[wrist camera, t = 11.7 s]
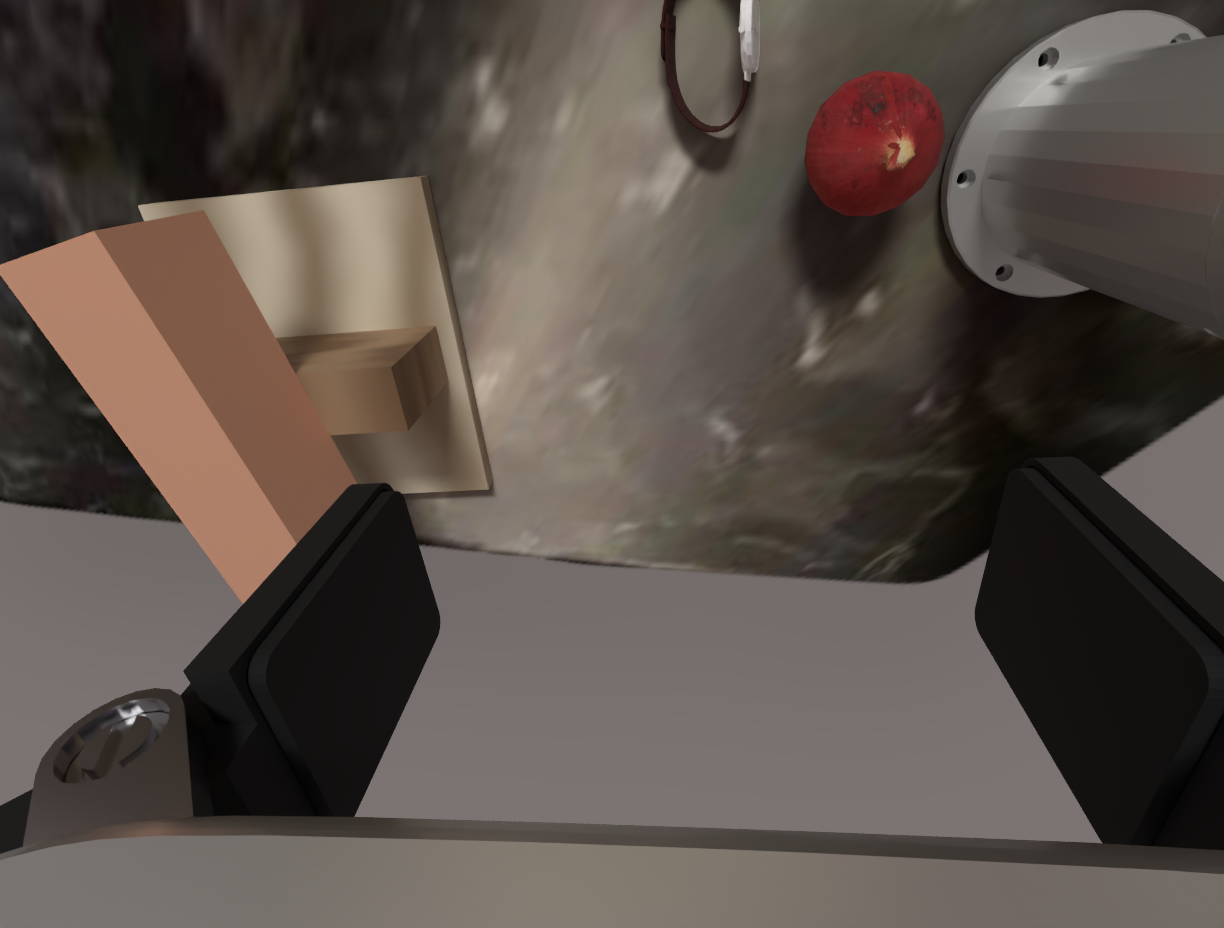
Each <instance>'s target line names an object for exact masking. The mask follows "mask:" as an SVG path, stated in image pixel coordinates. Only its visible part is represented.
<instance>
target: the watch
mask: <svg viewBox="0 0 1224 928" xmlns="http://www.w3.org/2000/svg"><path fill="white" fill-rule="evenodd" d="M674 4H675V0H664V5H663V11H662V21H661V24H660V28H661V56H662V59H663V60H664V61H666V72H667V78H668V83H669V87H670V90H671V93H672V96H673V99H674V101H675V103H676V105H677V107H678V108H679V110H680V112H681V113H682V115H683V116H684V117H685V118H686V120H687V121H688V122H689V123H690V124H692V125H693V126H694V127H696V128H697V129H699V130H702V131H705V132H718V131H721V130H723V129H725V128H727V127H728V126H729V125H731V124H732V123H733V122H734V121H735V120H736V118H737V117H738V116H739V114H740V113H741V111H742V109H743V107H744V104H745V101H746V99H747V95H748V90H749V83H750V82H751V73H753V72H756V71H757V69H758V62H759V49H760V17H759V2H758V0H741V5H740V20H739V28H738V30H739V32H740V47H741V62H742V69H743V72H744V82H743V93H742V98H741V101H740V104H739V107H738V109H737V111H736V113H735V115H734V116H733V117H732V119H731V120H730V121H729V122H728V123H726V124H724V125H722V126H709V125H706V124H704V123H702V122H701V121H699V120H698V119H697V118H696V117H695V116H694V115H693V114H692V113H691V112H690V110H689V109H688V107H687V106H686V104H685V102H684V100H683V97H682V95H681V92H680V89H679V85H678V81H677V74H676V64H675V29H676V26H675V23H676V17H675V16H673V10H674Z"/></svg>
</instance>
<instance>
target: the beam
mask: <svg viewBox="0 0 1224 928" xmlns="http://www.w3.org/2000/svg"><path fill="white" fill-rule="evenodd" d="M0 275H1V276H2V278H3V279H4V280H5V282H6V283H7V285H8V286H9V287H10V289H11V290H12V291H13V293H14V294H15V295H16V297H17V298H18V299H19V301H20V302H21V303H22V305H23V306H24V308H25V309H26V310H27V312H28V313H29V314H30V316H31V317H32V318H33V320H34V321H35V322H36V324H37V325H38V327H39V328H40V329H41V331H42V332H43V333H44V335H45V336H46V337H47V339H48V340H49V341H50V343H51V344H52V346H53V347H54V348H55V350H56V351H57V352H58V354H59V355H60V356H61V358H62V359H63V360H64V362H65V363H66V365H67V366H68V367H69V369H70V370H71V371H72V373H73V374H74V375H75V377H76V378H77V379H78V381H79V382H80V384H81V385H82V386H83V388H84V389H85V390H86V392H87V393H88V394H89V396H90V397H91V398H92V400H93V401H94V403H95V404H96V405H97V407H98V408H99V409H100V411H101V412H102V413H103V415H104V416H105V417H106V419H107V420H108V421H109V423H110V424H111V426H112V427H113V428H114V430H115V431H116V432H117V434H118V435H119V436H120V438H121V439H122V440H123V442H124V443H125V445H126V446H127V447H128V449H129V450H130V451H131V453H132V454H133V455H134V457H135V458H136V459H137V461H138V462H139V464H140V465H141V466H142V468H143V469H144V470H145V472H146V473H147V474H148V476H149V477H150V478H151V480H152V481H153V483H154V484H155V485H156V487H157V488H158V489H159V491H160V492H161V493H162V495H163V496H164V497H165V499H166V500H167V502H168V503H169V504H170V506H171V507H172V508H173V510H174V511H175V512H176V514H177V515H178V516H179V518H180V519H181V521H182V522H183V523H184V525H185V526H186V527H187V529H188V530H189V531H190V533H191V534H192V535H193V537H194V538H195V539H196V541H197V542H198V544H199V545H200V546H201V548H202V549H203V550H204V552H205V553H206V554H207V556H208V557H209V558H210V560H211V561H212V562H213V564H214V565H215V567H216V568H217V569H218V571H219V572H220V573H221V575H222V576H223V577H224V579H225V580H226V581H227V583H228V584H229V586H230V587H231V588H232V590H233V591H234V592H235V594H236V595H237V596H238V598H239V599H240V601H241V602H242V603H243V604H244V603H245V601H246V600H247V599H248V598H249V597H250V596H251V595H252V594H253V593H254V591H255V590H256V589H257V588H258V587H259V586H260V585H261V584H262V582H263V581H264V580H265V579H266V578H267V577H268V576H269V575H270V574H271V572H272V571H273V570H274V569H275V568H276V567H277V566H278V565H279V563H280V562H281V561H282V560H283V559H284V558H285V557H286V556H287V555H288V553H289V552H290V551H291V550H292V549H293V548H294V547H295V546H296V544H297V543H298V542H299V541H300V540H301V539H302V538H303V537H304V536H305V534H306V533H307V532H308V531H309V530H310V529H311V528H312V527H313V525H314V524H315V523H316V522H317V521H318V520H319V519H320V518H321V517H322V515H323V514H324V513H325V512H326V511H327V510H328V509H329V508H330V506H331V505H332V504H333V503H334V502H335V501H336V500H337V499H338V497H339V496H340V495H341V494H342V493H343V492H344V491H345V490H346V489H347V487H349V486H350V485H352V484H357V483H356V481H355V479H354V477H353V475H352V474H351V472H350V470H349V468H348V466H347V465H346V463H345V461H344V459H343V458H342V456H341V454H340V452H339V450H338V449H337V447H336V445H335V443H334V441H333V440H332V438H331V436H330V434H329V433H328V431H327V429H326V427H325V425H324V424H323V422H322V420H321V418H320V416H319V415H318V413H317V411H316V409H315V408H314V406H313V404H312V402H311V400H310V399H309V397H308V395H307V393H306V392H305V390H304V388H303V386H302V384H301V383H300V381H299V379H298V377H297V375H296V374H295V372H294V370H293V368H292V367H291V365H290V363H289V361H288V359H287V358H286V356H285V354H284V352H283V350H282V349H281V347H280V345H279V343H278V342H277V340H276V338H275V336H274V334H273V333H272V331H271V329H270V327H269V325H268V324H267V322H266V320H265V318H264V317H263V315H262V313H261V311H260V309H259V308H258V306H257V304H256V302H255V300H254V299H253V297H252V295H251V293H250V292H249V290H248V288H247V286H246V284H245V283H244V281H243V279H242V277H241V276H240V274H239V272H238V270H237V268H236V267H235V265H234V263H233V261H232V259H231V258H230V256H229V254H228V252H227V251H226V249H225V247H224V245H223V243H222V242H221V240H220V238H219V236H218V234H217V233H216V231H215V229H214V227H213V226H212V224H211V222H210V220H209V218H208V217H207V215H206V213H205V211H204V210H201V211H196V212H191V213H186V214H180V215H175V216H170V217H165V218H159V219H154V220H149V221H144V222H138V223H133V224H128V225H123V226H118V227H112V228H107V229H102V230H97V231H93V232H90V233H87V234H84V235H82V236H79V237H76V238H73V239H70V240H68V241H65V242H62V243H59V244H57V245H54V246H51V247H48V248H46V249H43V250H40V251H37V252H35V253H32V254H29V255H26V256H24V257H21V258H18V259H15V260H13V261H10V262H7V263H4V264H2V265H0Z"/></svg>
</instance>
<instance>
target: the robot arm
mask: <svg viewBox="0 0 1224 928" xmlns="http://www.w3.org/2000/svg"><path fill="white" fill-rule="evenodd" d="M1040 55H1042V56H1043V61H1042V64H1041V65H1040V66H1038V59H1039V57H1040ZM960 173H962V174H963V179H962V181H961V182H960V183H957V178H958V176H959V174H960ZM941 213H942V218H943V224H944V229H945V233H946V235H947V238H948V240H949V242H950V245H951V247H952V249H953V251H954V253H955V254H956V256H957V257H958V258H959V259H960V261H961V262H962V263H963V265H964V266H965V267H966V268H967V269H968V270H969V271H970V272H972V273H973V274H974V275H975V276H977V277H978V278H979V279H980V280H982V281H984V282H986V283H988V284H990V285H991V286H993V287H995V288H997V289H1000V290H1003V291H1006V292H1009V293H1012V294H1015V295H1020V296H1028V297H1037V298H1044V297H1058V296H1066V295H1070V294H1074V293H1078V292H1082V291H1086V290H1089V289H1092V290H1095V291H1097V292H1100V293H1103V294H1105V295H1108V296H1110V297H1113V298H1116V299H1118V300H1121V301H1124V302H1126V303H1129V304H1132V305H1134V306H1137V307H1139V308H1142V309H1145V310H1147V311H1150V312H1153V313H1155V314H1158V315H1161V316H1163V317H1166V318H1169V319H1171V320H1174V321H1176V322H1179V323H1182V324H1184V325H1187V326H1190V327H1192V328H1195V329H1198V330H1200V331H1203V332H1205V333H1208V334H1211V335H1213V336H1216V337H1219V338H1221V339H1224V35H1221V36H1214V37H1208V38H1206V37H1205V35H1204V34H1203V33H1202V32H1201V31H1200V30H1199V29H1198V28H1196V27H1194V26H1192V25H1190V24H1189V23H1187V22H1185V21H1183V20H1181V19H1180V18H1178V17H1176V16H1172V15H1168V14H1163V13H1159V12H1155V11H1151V10H1138V11H1118V12H1113V13H1108V14H1103V15H1098V16H1094V17H1091V18H1088V19H1085V20H1081V21H1078V22H1075V23H1072V24H1069V25H1066V26H1064V27H1062V28H1061V29H1059V30H1057V31H1055V32H1053V33H1051V34H1049V35H1047V36H1045V37H1043V38H1041V39H1039V40H1038V41H1037V42H1035V43H1034V44H1032V45H1031V46H1030V47H1028V48H1027V49H1026V50H1024V51H1023V52H1022V53H1020V54H1019V55H1017V56H1016V57H1015V58H1013V59H1012V60H1011V61H1010V62H1009V63H1008V64H1007V65H1006V66H1005V67H1004V68H1003V69H1002V70H1001V71H1000V72H999V73H998V74H997V75H996V76H995V77H994V78H993V79H992V80H991V81H990V82H989V83H988V85H987V86H986V87H985V89H984V90H983V91H982V93H981V94H980V95H979V97H978V98H977V99H976V100H975V102H974V103H973V104H972V106H971V107H970V109H969V111H968V113H967V114H966V116H965V118H964V120H963V122H962V123H961V125H960V127H959V129H958V131H957V132H956V135H955V138H954V140H953V143H952V146H951V148H950V151H949V154H948V156H947V159H946V164H945V169H944V174H943V179H942V184H941ZM999 267H1001V269H1000V271H999V272H998V273H996V271H997V269H998V268H999ZM995 273H996V274H995ZM975 622H976V626H977V629H978V632H979V634H980V636H981V638H982V639H983V641H984V643H985V644H986V646H987V648H988V649H989V651H990V653H991V655H992V656H993V658H994V660H995V661H996V663H997V665H998V666H999V668H1000V670H1001V672H1002V673H1003V675H1004V677H1005V678H1006V680H1007V682H1008V683H1009V685H1010V687H1011V689H1012V690H1013V692H1014V694H1015V695H1016V697H1017V699H1018V701H1019V702H1020V704H1021V706H1022V707H1023V709H1024V711H1025V712H1026V714H1027V716H1028V718H1029V719H1030V721H1031V723H1032V724H1033V726H1034V728H1035V729H1036V731H1037V733H1038V735H1039V736H1040V738H1041V740H1042V741H1043V743H1044V745H1045V747H1046V748H1047V750H1048V751H1049V753H1050V755H1051V757H1052V758H1053V760H1054V762H1055V763H1056V765H1057V767H1058V769H1059V770H1060V772H1061V774H1062V775H1063V777H1064V779H1065V780H1066V782H1067V784H1068V786H1069V787H1070V789H1071V791H1072V793H1073V794H1074V796H1075V798H1076V799H1077V801H1078V803H1079V804H1080V806H1081V808H1082V810H1083V811H1084V813H1085V814H1086V816H1087V818H1088V820H1089V822H1090V823H1091V825H1092V827H1093V828H1094V830H1095V832H1096V833H1097V835H1098V837H1099V838H1100V840H1101V841H1102V843H1103V844H1102V843H1083V842H1059V841H1034V840H1033V841H1031V840H1008V839H984V838H983V839H982V838H959V837H933V836H909V835H884V834H858V833H834V832H806V831H777V830H749V829H721V828H693V827H692V828H691V827H663V826H635V825H606V824H576V823H545V822H544V823H543V822H510V821H474V820H439V819H407V818H406V819H405V818H373V817H354V816H355V814H356V812H357V810H358V807H359V805H360V803H361V801H362V799H363V797H364V795H365V792H366V790H367V788H368V786H369V784H370V781H371V779H372V777H373V775H374V773H375V771H376V769H377V766H378V764H379V762H380V760H381V758H382V756H383V753H384V751H385V749H386V747H387V745H388V743H389V740H390V738H391V736H392V734H393V732H394V730H395V728H396V725H397V723H398V721H399V719H400V717H401V714H402V712H403V710H404V708H405V706H406V703H407V702H408V699H409V697H410V695H411V693H412V691H413V689H414V686H415V684H416V682H417V680H418V678H419V676H420V673H421V671H422V669H423V666H424V664H425V663H426V661H427V658H428V656H429V654H430V652H431V650H432V648H433V645H434V643H435V641H436V639H437V637H438V634H439V629H440V615H439V610H438V608H437V604H436V601H435V597H434V594H433V591H432V588H431V584H430V581H429V578H428V574H427V571H426V568H425V565H424V561H423V558H422V555H421V551H420V548H419V545H418V541H417V538H416V535H415V532H414V528H413V525H412V522H411V518H410V515H409V512H408V509H407V505H406V502H405V499H404V497H403V495H402V494H401V492H399V491H394V490H393V488H392V487H391V486H390V485H389V484H387V483H368V484H352V485H350V486H349V487H347V489H346V490H345V491H344V492H343V493H342V494H341V495H340V496H339V497H338V499H337V500H336V501H335V502H334V503H333V504H332V505H331V506H330V508H329V509H328V510H327V511H326V512H325V513H324V514H323V515H322V517H321V518H320V519H319V520H318V521H317V522H316V523H315V524H314V525H313V527H312V528H311V529H310V530H309V531H308V532H307V533H306V534H305V536H304V537H303V538H302V539H301V540H300V541H299V542H298V543H297V544H296V546H295V547H294V548H293V549H292V550H291V551H290V552H289V553H288V555H287V556H286V557H285V558H284V559H283V560H282V561H281V562H280V563H279V565H278V566H277V567H276V568H275V569H274V570H273V571H272V572H271V574H270V575H269V576H268V577H267V578H266V579H265V580H264V581H263V582H262V584H261V585H260V586H259V587H258V588H257V589H256V590H255V591H254V593H253V594H252V595H251V596H250V597H249V598H248V599H247V600H246V601H245V603H244V604H243V605H242V606H241V607H240V608H239V609H238V611H237V612H236V613H235V614H234V615H233V616H232V617H231V618H230V619H229V620H228V622H227V623H226V624H225V625H224V626H223V627H222V628H221V629H220V631H219V632H218V633H217V634H216V635H215V636H214V637H213V638H212V640H211V641H210V642H209V643H208V644H207V645H206V646H205V647H204V649H203V650H202V651H201V652H200V653H199V654H198V655H197V656H196V658H195V659H194V660H193V661H192V662H191V663H190V664H189V665H188V666H187V668H186V669H185V670H184V673H185V675H186V676H187V678H188V680H189V681H190V683H191V684H190V685H189V686H188V687H187V689H186V690H185V691H184V692H183V693H182V694H181V695H179V694H177V693H176V692H173V691H172V690H170V689H160V688H153V689H147V690H141V691H136V692H133V693H130V694H127V695H124V696H122V697H119V698H116V699H114V700H112V701H110V702H108V703H106V704H104V705H102V706H100V707H99V708H97V709H95V710H93V711H92V712H90V713H89V714H87V715H86V716H85V717H83V718H81V719H80V720H79V721H77V722H76V723H74V724H73V725H72V726H71V727H70V728H69V729H67V731H65V732H64V733H63V734H62V735H61V736H60V737H59V738H58V739H57V740H56V741H55V742H54V743H53V744H52V746H51V747H50V748H49V750H48V751H47V752H46V754H45V755H44V756H43V757H42V759H41V762H40V764H39V767H38V770H37V772H36V775H35V780H34V786H33V789H32V790H30V791H28V792H26V793H24V794H22V795H20V796H18V797H16V798H15V799H13V800H11V801H9V802H7V803H5V804H3V805H1V806H0V928H1224V582H1223V581H1222V580H1221V579H1220V578H1219V577H1217V576H1216V575H1215V574H1214V573H1213V572H1212V571H1210V570H1209V569H1208V568H1207V567H1205V566H1204V565H1203V564H1202V563H1201V562H1200V561H1199V560H1197V559H1196V558H1195V557H1194V556H1193V555H1191V554H1190V553H1189V552H1188V551H1187V550H1186V549H1184V548H1183V547H1182V546H1181V545H1180V544H1178V543H1177V542H1176V541H1175V540H1174V539H1172V538H1171V537H1170V536H1169V535H1168V534H1167V533H1165V532H1164V531H1163V530H1162V529H1161V528H1160V527H1158V526H1157V525H1156V524H1155V523H1154V522H1152V521H1151V520H1150V519H1149V518H1148V517H1147V516H1145V515H1144V514H1143V513H1142V512H1141V511H1139V510H1138V509H1137V508H1136V507H1135V506H1134V505H1132V504H1131V503H1130V502H1129V501H1128V500H1127V499H1125V498H1124V497H1123V496H1122V495H1121V494H1119V493H1118V492H1117V491H1116V490H1115V489H1114V488H1112V487H1111V486H1110V485H1109V484H1108V483H1106V482H1105V481H1104V480H1103V479H1102V478H1101V477H1099V476H1098V475H1097V474H1096V473H1095V472H1093V471H1092V470H1091V469H1090V468H1089V467H1088V466H1086V465H1085V464H1084V463H1083V462H1082V461H1080V460H1079V459H1077V458H1075V457H1052V458H1029V459H1027V460H1025V461H1024V462H1023V463H1022V465H1021V466H1020V469H1013V470H1011V471H1010V473H1009V474H1008V477H1007V480H1006V484H1005V488H1004V492H1003V496H1002V500H1001V504H1000V509H999V513H998V517H997V521H996V525H995V529H994V533H993V537H992V541H991V545H990V550H989V554H988V558H987V562H986V567H985V570H984V574H983V578H982V583H981V587H980V591H979V595H978V599H977V603H976V607H975Z"/></svg>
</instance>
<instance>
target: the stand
mask: <svg viewBox="0 0 1224 928" xmlns="http://www.w3.org/2000/svg"><path fill="white" fill-rule="evenodd" d="M138 208H139V210H140V212H141V215H142V217H143V219H144V221H149V220H154V219H159V218H165V217H170V216H175V215H180V214H186V213H191V212H196V211H201V210H204V211H205V213H206V215H207V217H208V218H209V220H210V222H211V224H212V226H213V227H214V229H215V231H216V233H217V234H218V236H219V238H220V240H221V242H222V243H223V245H224V247H225V249H226V251H227V252H228V254H229V256H230V258H231V259H232V261H233V263H234V265H235V267H236V268H237V270H238V272H239V274H240V276H241V277H242V279H243V281H244V283H245V284H246V286H247V288H248V290H249V292H250V293H251V295H252V297H253V299H254V300H255V302H256V304H257V306H258V308H259V309H260V311H261V313H262V315H263V317H264V318H265V320H266V322H267V324H268V325H269V327H270V329H271V331H272V333H273V334H274V336H275V338H276V340H277V342H278V343H279V345H280V347H281V349H282V350H283V352H284V354H285V356H286V358H287V359H288V361H289V363H290V365H291V367H292V368H293V370H294V372H295V374H296V375H297V377H298V379H299V381H300V383H301V384H302V386H303V388H304V390H305V392H306V393H307V395H308V397H309V399H310V400H311V402H312V404H313V406H314V408H315V409H316V411H317V413H318V415H319V416H320V418H321V420H322V422H323V424H324V425H325V427H326V429H327V431H328V433H329V434H330V436H331V438H332V440H333V441H334V443H335V445H336V447H337V449H338V450H339V452H340V454H341V456H342V458H343V459H344V461H345V463H346V465H347V466H348V468H349V470H350V472H351V474H352V475H353V477H354V479H355V481H356V483H357V484H368V483H387V484H389V485H390V486H391V487H392V488H393V490H394V491H399V492H401V494H406V493H427V492H447V491H468V490H489V487H490V485H491V483H492V481H493V480H492V475H491V470H490V465H489V461H488V456H487V451H486V447H485V442H484V437H483V433H482V428H481V423H480V419H479V414H478V409H477V404H476V400H475V395H474V390H473V386H472V381H471V376H470V372H469V367H468V362H467V358H466V353H465V348H464V343H463V339H462V334H461V329H460V325H459V320H458V315H457V311H456V306H455V301H454V297H453V292H452V287H451V282H450V278H449V273H448V268H447V264H446V259H445V254H444V250H443V245H442V240H441V236H440V231H439V226H438V221H437V217H436V212H435V207H434V203H433V198H432V193H431V189H430V184H429V179H428V176H420V177H410V178H400V179H390V180H380V181H370V182H360V183H350V184H340V185H330V186H320V187H310V188H300V189H290V190H280V191H270V192H260V193H250V194H240V195H230V196H220V197H210V198H200V199H190V200H180V201H170V202H160V203H151V204H145V205H139V206H138Z"/></svg>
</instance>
